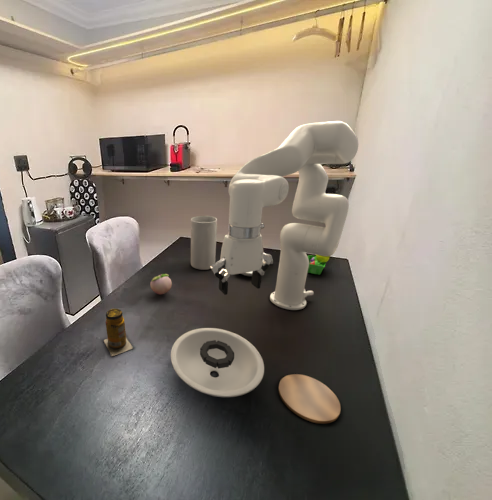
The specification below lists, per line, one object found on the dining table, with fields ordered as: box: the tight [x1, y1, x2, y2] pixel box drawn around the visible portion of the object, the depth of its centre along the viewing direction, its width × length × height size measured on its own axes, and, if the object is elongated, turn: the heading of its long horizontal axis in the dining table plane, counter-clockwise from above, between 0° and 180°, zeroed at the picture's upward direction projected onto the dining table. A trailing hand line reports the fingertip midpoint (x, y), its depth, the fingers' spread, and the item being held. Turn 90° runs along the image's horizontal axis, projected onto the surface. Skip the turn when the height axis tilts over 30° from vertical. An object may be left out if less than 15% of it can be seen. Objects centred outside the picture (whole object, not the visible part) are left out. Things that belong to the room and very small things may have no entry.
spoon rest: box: [240, 252, 274, 277], centre depth 128 cm, size 24×12×7 cm, turn 127°
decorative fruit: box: [150, 273, 173, 295], centre depth 112 cm, size 9×8×10 cm
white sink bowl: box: [170, 327, 265, 398], centre depth 72 cm, size 24×24×7 cm
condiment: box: [103, 308, 134, 357], centre depth 84 cm, size 7×8×12 cm
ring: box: [200, 340, 234, 369], centre depth 70 cm, size 8×8×2 cm
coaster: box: [277, 373, 342, 425], centre depth 65 cm, size 13×13×1 cm
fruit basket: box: [307, 254, 331, 276], centre depth 123 cm, size 11×9×11 cm
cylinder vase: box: [190, 215, 218, 271], centre depth 134 cm, size 12×12×25 cm
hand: (239, 289), depth 72 cm, fingers open, 9 cm apart
